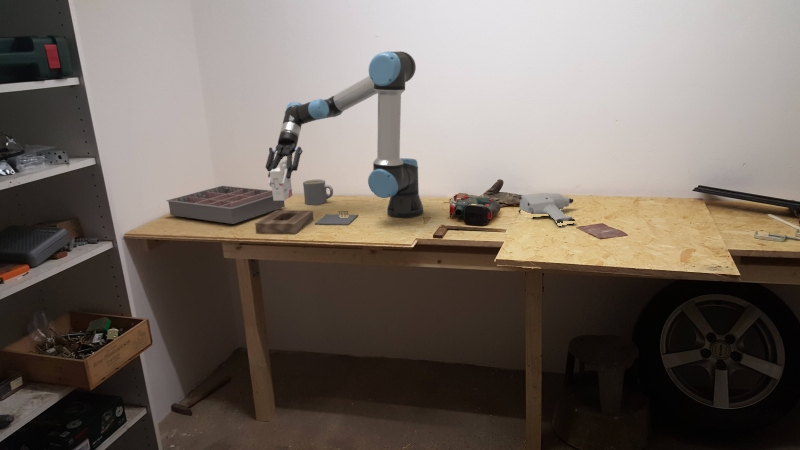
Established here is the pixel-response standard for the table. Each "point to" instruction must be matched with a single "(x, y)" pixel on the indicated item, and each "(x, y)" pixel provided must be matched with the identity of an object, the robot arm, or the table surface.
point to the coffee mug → (316, 192)
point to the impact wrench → (546, 205)
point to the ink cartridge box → (280, 183)
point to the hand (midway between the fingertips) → (277, 184)
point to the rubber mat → (335, 220)
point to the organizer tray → (224, 204)
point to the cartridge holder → (284, 222)
